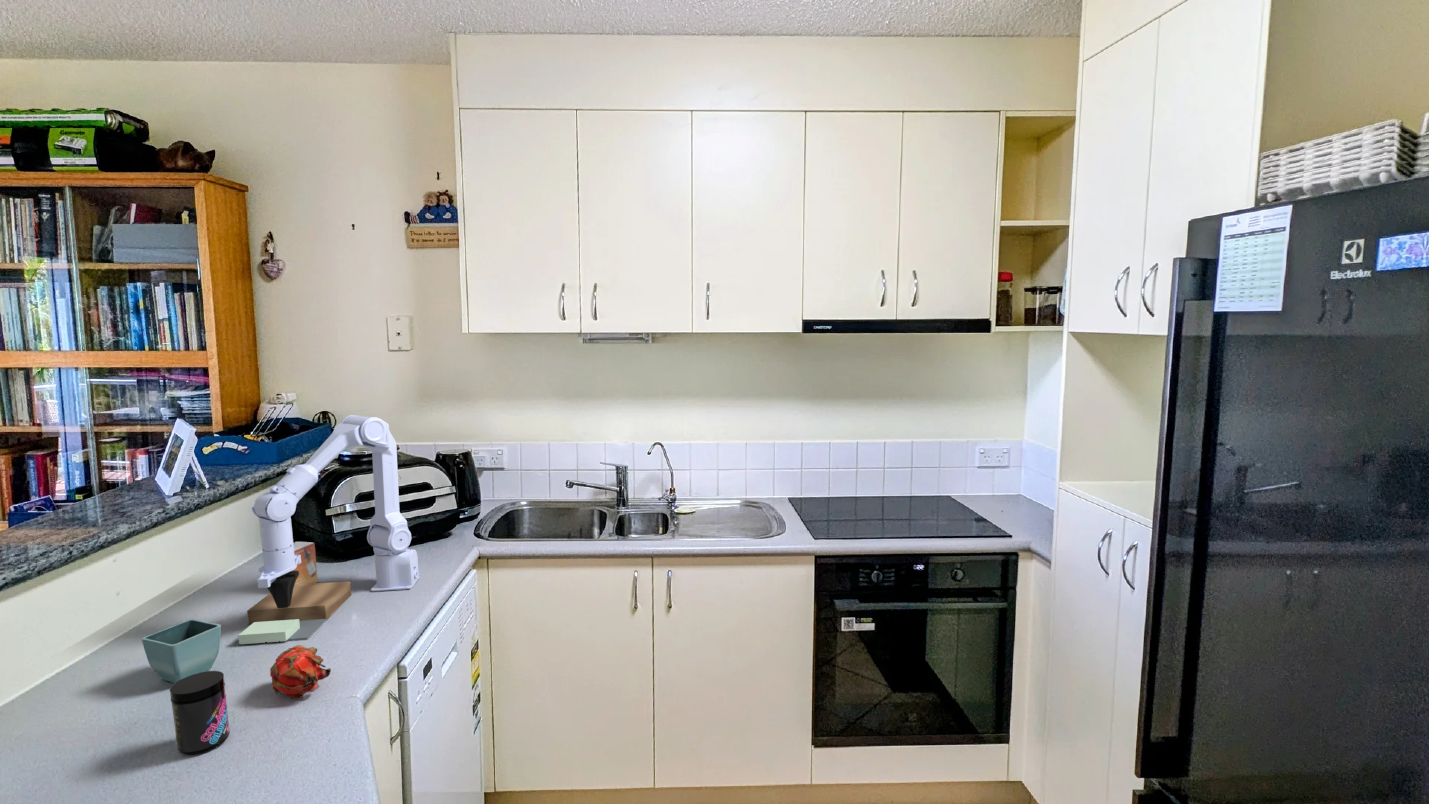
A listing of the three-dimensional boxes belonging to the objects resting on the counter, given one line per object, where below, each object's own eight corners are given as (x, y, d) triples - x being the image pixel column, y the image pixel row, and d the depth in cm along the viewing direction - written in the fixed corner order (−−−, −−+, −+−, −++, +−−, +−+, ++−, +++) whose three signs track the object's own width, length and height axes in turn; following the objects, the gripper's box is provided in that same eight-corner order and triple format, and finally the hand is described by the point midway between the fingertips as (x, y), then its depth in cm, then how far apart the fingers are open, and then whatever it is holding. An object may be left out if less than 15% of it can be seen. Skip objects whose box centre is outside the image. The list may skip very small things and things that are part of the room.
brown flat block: (351, 595, 162) (350, 581, 162) (326, 620, 148) (325, 605, 148) (280, 599, 160) (279, 585, 160) (248, 625, 146) (247, 610, 146)
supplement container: (193, 762, 101) (186, 697, 99) (167, 751, 103) (159, 688, 102) (240, 736, 107) (233, 675, 106) (214, 727, 110) (207, 667, 108)
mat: (326, 620, 148) (326, 618, 148) (307, 639, 140) (307, 637, 140) (258, 625, 147) (258, 623, 146) (235, 644, 138) (234, 642, 138)
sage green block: (285, 631, 138) (286, 641, 138) (299, 619, 144) (299, 627, 144) (238, 635, 137) (239, 644, 137) (254, 622, 143) (255, 631, 143)
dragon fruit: (291, 684, 125) (317, 716, 118) (247, 676, 119) (271, 709, 111) (319, 642, 127) (346, 670, 120) (277, 631, 121) (303, 661, 114)
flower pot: (227, 668, 128) (222, 624, 127) (177, 692, 120) (172, 645, 119) (195, 661, 131) (190, 618, 130) (145, 684, 123) (139, 638, 122)
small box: (293, 594, 163) (289, 552, 162) (274, 592, 165) (270, 551, 163) (318, 581, 171) (315, 542, 170) (300, 580, 172) (296, 540, 171)
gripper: (275, 537, 151) (280, 594, 152) (239, 560, 137) (245, 622, 138) (308, 535, 152) (313, 592, 153) (276, 557, 137) (282, 620, 139)
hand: (284, 606), depth 146 cm, fingers closed
